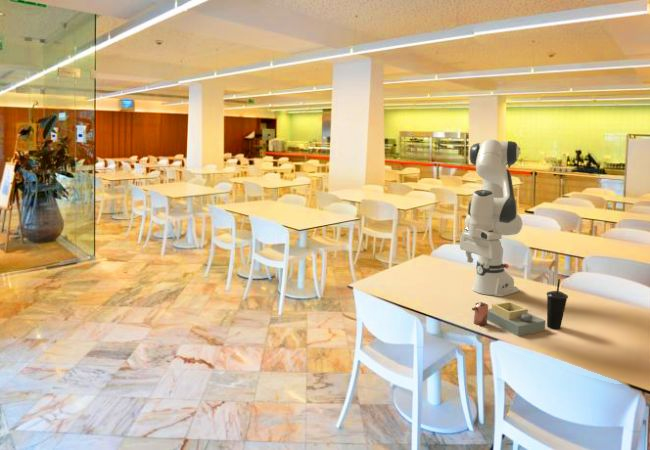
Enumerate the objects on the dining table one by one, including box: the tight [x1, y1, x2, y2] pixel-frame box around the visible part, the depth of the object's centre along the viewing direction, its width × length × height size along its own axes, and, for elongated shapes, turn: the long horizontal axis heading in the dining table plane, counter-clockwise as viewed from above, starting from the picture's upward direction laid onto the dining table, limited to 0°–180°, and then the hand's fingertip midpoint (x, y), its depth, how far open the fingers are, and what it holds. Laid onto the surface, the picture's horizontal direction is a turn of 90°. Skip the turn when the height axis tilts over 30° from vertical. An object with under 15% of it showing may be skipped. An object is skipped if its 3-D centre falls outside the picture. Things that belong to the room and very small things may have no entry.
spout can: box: [471, 301, 489, 327], centre depth 192 cm, size 7×5×9 cm
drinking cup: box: [546, 278, 569, 330], centre depth 189 cm, size 8×8×20 cm
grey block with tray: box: [487, 300, 547, 337], centre depth 192 cm, size 14×18×7 cm
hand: (477, 265), depth 192 cm, fingers open, 8 cm apart
